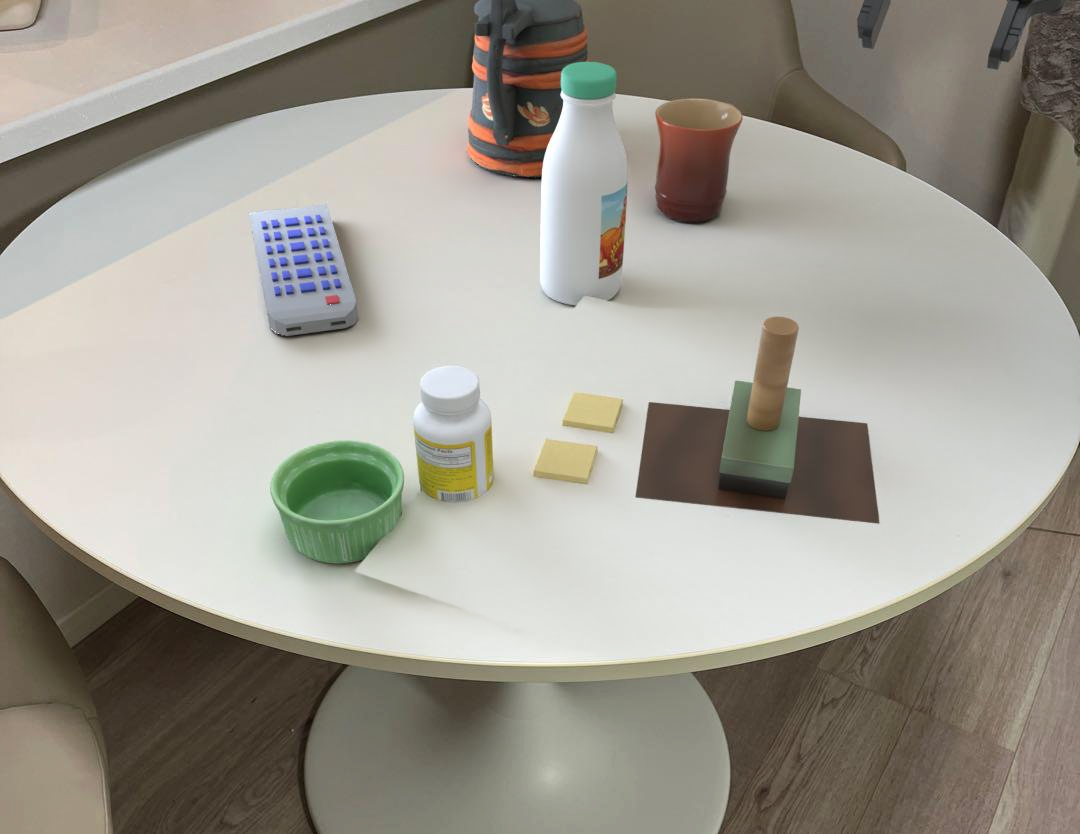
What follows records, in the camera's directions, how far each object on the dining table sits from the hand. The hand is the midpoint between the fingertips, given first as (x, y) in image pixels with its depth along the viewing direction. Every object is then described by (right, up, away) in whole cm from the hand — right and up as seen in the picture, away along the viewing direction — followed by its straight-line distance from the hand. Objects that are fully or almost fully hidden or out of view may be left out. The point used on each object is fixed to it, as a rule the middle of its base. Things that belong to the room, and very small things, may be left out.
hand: (928, 52), depth 72 cm
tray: (-10, -28, +8) cm, 31 cm away
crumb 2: (-25, -29, +7) cm, 38 cm away
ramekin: (-40, -32, +3) cm, 52 cm away
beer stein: (-28, +10, +50) cm, 59 cm away
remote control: (-50, -8, +30) cm, 59 cm away
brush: (-10, -27, +7) cm, 29 cm away
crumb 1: (-22, -24, +12) cm, 35 cm away
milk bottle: (-23, -9, +29) cm, 38 cm away
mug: (-10, +3, +42) cm, 43 cm away
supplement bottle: (-33, -30, +6) cm, 45 cm away
